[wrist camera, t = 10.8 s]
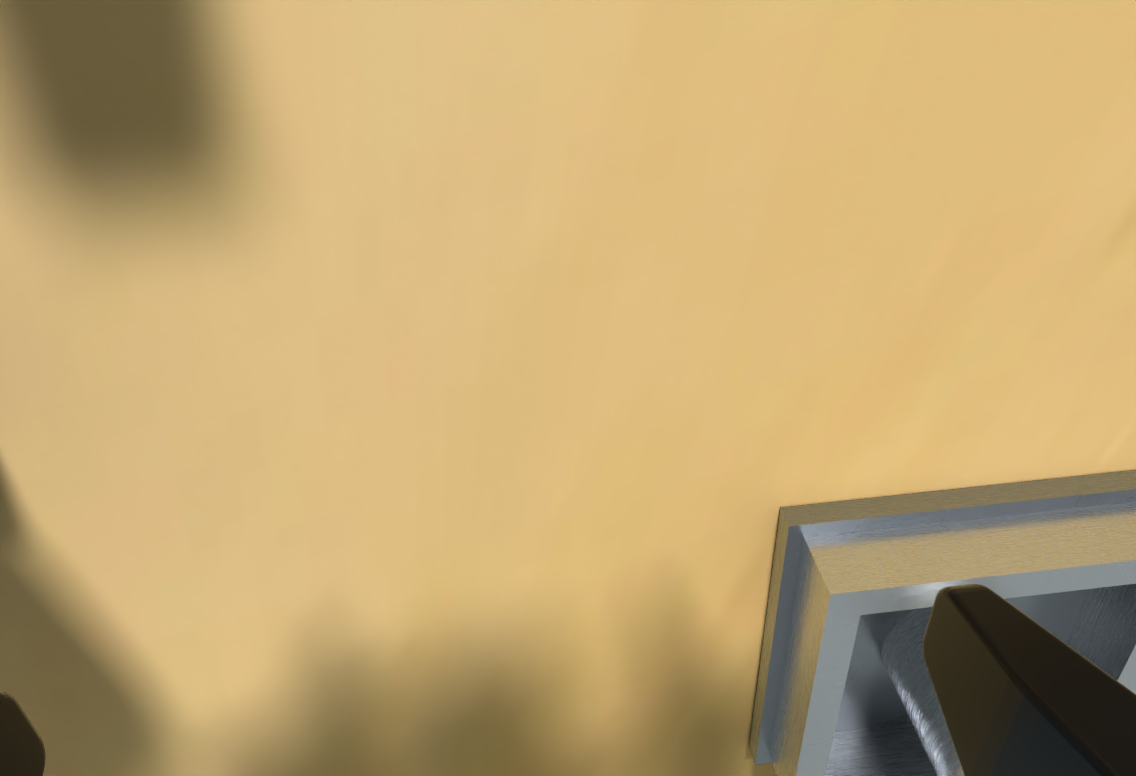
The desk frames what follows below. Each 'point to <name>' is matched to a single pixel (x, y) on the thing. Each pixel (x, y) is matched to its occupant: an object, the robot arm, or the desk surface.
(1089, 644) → the square metal tray
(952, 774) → the silver metal cylinder
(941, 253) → the desk surface
